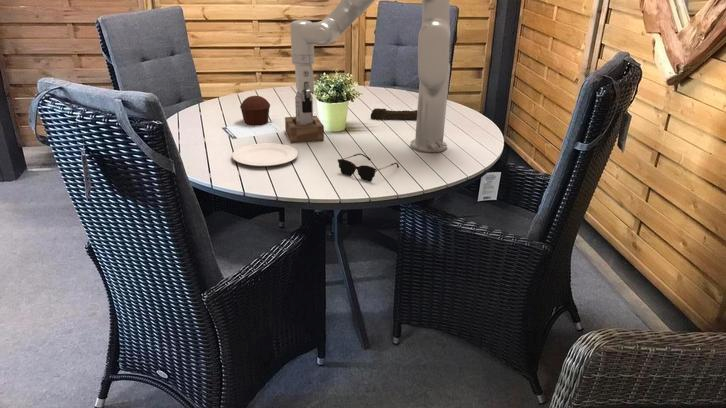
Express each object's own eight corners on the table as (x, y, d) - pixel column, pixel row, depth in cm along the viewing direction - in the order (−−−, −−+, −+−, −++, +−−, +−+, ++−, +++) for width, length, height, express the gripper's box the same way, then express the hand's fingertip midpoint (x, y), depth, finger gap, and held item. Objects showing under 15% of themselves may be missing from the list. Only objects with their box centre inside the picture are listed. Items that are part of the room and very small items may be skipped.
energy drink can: (312, 136, 190) (311, 94, 184) (295, 136, 190) (293, 94, 184) (314, 131, 196) (313, 90, 189) (297, 131, 196) (296, 89, 189)
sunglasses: (336, 174, 163) (337, 158, 161) (366, 162, 175) (367, 147, 173) (374, 185, 156) (376, 168, 154) (402, 172, 168) (404, 156, 167)
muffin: (261, 128, 201) (260, 102, 196) (235, 125, 204) (233, 98, 200) (276, 120, 211) (275, 95, 207) (251, 117, 214) (249, 92, 210)
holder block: (323, 141, 189) (323, 126, 187) (291, 143, 186) (290, 128, 184) (316, 130, 201) (316, 115, 198) (285, 131, 198) (285, 117, 195)
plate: (234, 173, 161) (234, 167, 160) (230, 150, 179) (229, 145, 178) (303, 168, 166) (303, 162, 165) (292, 146, 184) (292, 141, 183)
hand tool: (416, 118, 219) (417, 107, 217) (418, 121, 216) (418, 110, 214) (370, 118, 218) (370, 106, 216) (370, 120, 215) (371, 109, 213)
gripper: (319, 63, 175) (320, 114, 182) (309, 54, 190) (310, 102, 197) (296, 64, 173) (298, 116, 180) (288, 55, 188) (290, 103, 196)
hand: (304, 108), depth 189 cm, fingers open, 9 cm apart
